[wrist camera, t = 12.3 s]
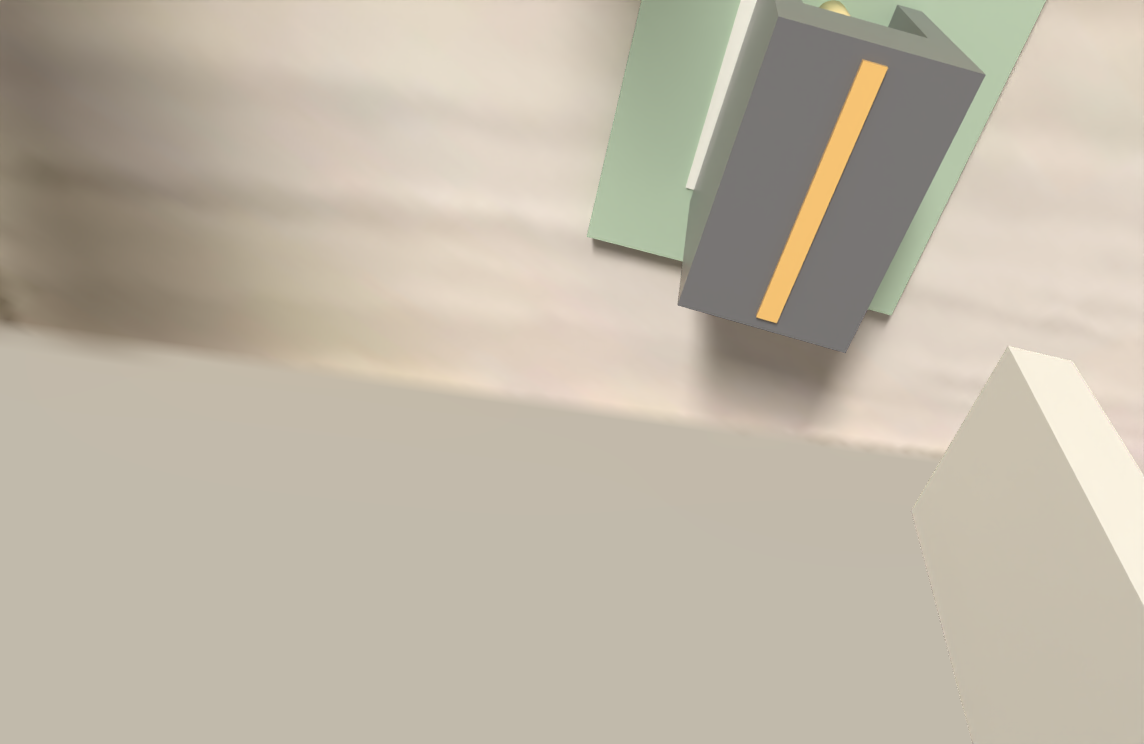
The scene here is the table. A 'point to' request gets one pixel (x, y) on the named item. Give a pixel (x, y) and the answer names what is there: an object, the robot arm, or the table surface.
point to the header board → (697, 90)
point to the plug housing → (819, 166)
